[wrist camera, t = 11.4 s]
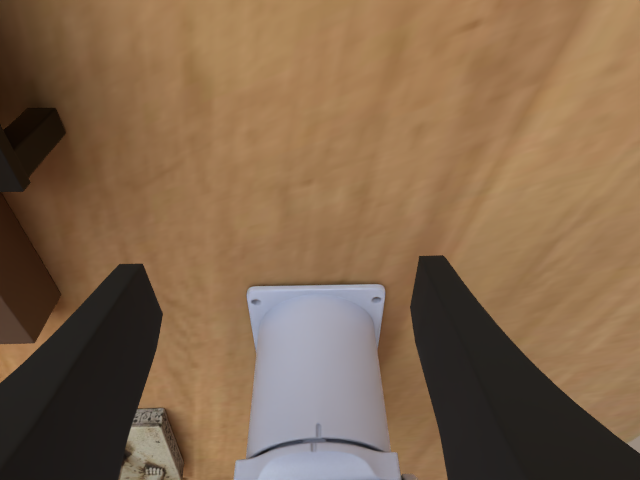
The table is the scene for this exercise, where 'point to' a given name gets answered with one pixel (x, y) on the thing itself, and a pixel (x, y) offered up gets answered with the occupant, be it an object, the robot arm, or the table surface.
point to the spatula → (22, 284)
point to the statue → (151, 449)
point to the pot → (27, 146)
